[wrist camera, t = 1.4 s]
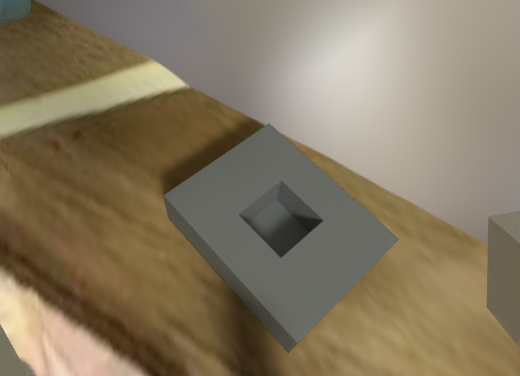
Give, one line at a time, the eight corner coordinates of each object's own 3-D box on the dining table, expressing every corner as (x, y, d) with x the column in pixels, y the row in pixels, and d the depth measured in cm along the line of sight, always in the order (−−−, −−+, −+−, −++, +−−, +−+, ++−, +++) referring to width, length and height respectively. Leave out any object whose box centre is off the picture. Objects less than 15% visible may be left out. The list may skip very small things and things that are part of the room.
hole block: (168, 218, 43) (163, 195, 39) (264, 150, 48) (269, 123, 44) (288, 353, 37) (297, 343, 33) (380, 257, 43) (399, 239, 38)
